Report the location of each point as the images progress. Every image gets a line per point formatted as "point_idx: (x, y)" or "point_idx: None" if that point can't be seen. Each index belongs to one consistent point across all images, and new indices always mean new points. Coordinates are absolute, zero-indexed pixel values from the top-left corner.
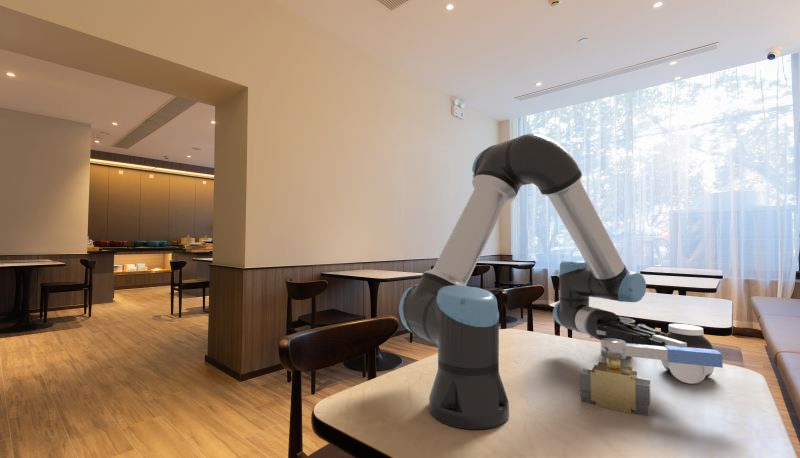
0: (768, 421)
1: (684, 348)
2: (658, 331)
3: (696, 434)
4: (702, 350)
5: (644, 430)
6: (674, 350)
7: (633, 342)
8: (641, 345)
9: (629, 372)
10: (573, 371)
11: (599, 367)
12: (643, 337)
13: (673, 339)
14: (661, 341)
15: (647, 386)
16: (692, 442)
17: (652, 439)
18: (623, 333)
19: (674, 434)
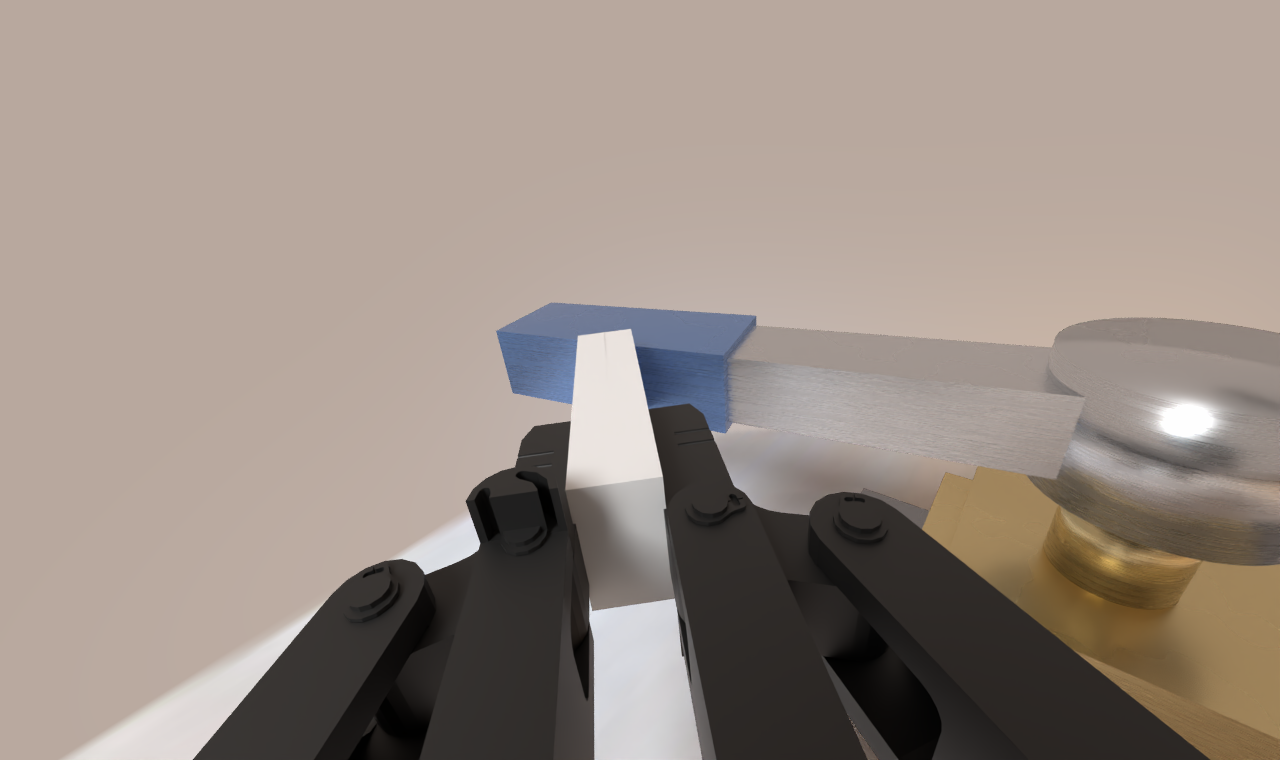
0: (436, 547)
1: (644, 330)
2: (518, 481)
3: (751, 481)
4: (580, 319)
5: (913, 494)
6: (727, 317)
7: (884, 714)
8: (903, 360)
9: (976, 499)
10: None
11: (1256, 586)
12: (767, 533)
13: (583, 376)
14: (664, 419)
15: (872, 492)
16: (791, 453)
17: (902, 459)
18: (1148, 741)
19: (821, 479)
